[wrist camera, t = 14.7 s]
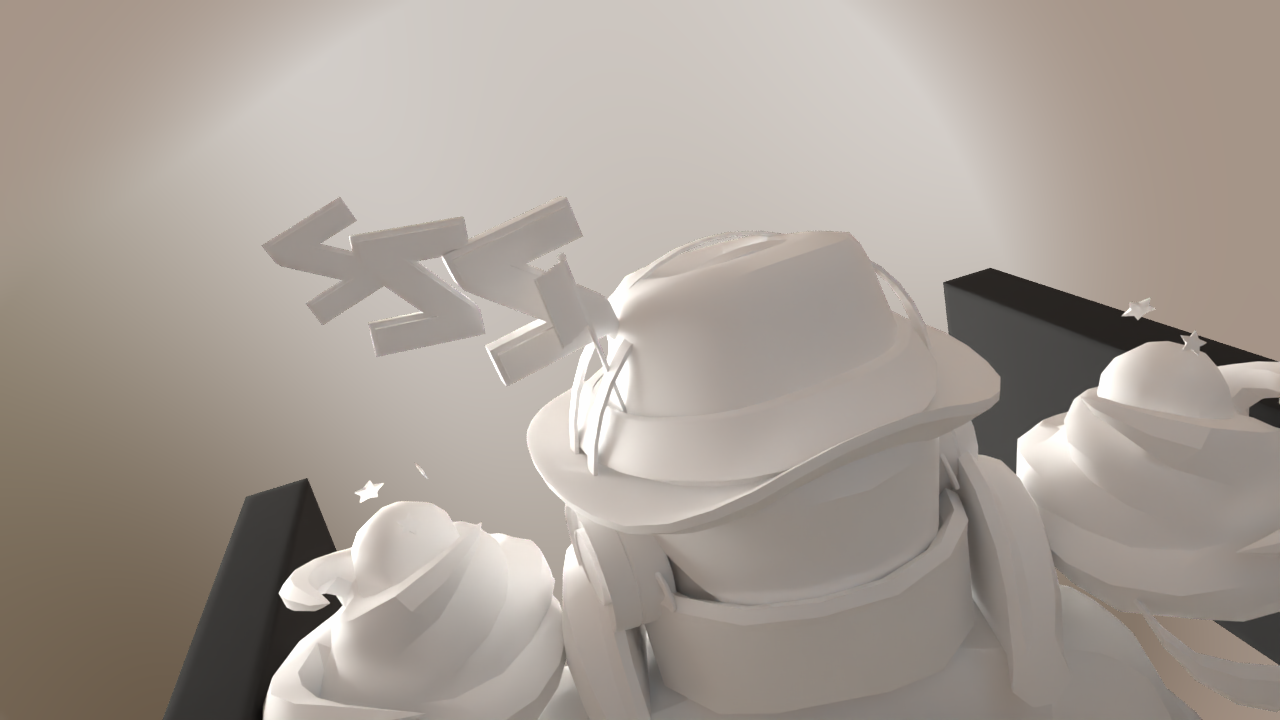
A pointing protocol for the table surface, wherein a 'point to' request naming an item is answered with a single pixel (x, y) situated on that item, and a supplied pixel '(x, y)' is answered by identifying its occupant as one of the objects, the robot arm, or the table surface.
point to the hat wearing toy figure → (784, 505)
